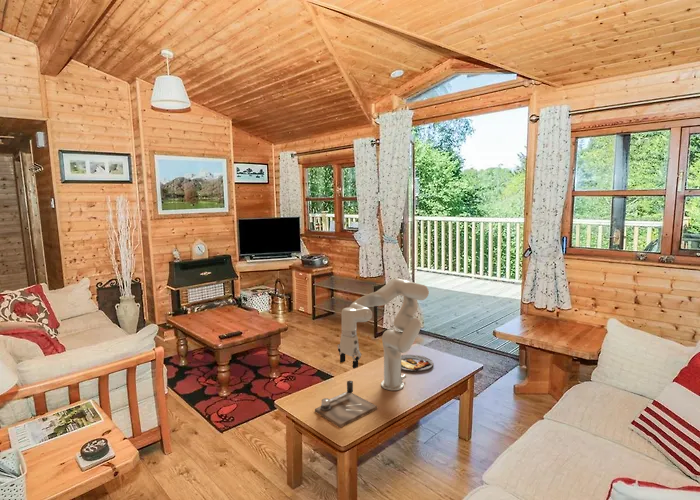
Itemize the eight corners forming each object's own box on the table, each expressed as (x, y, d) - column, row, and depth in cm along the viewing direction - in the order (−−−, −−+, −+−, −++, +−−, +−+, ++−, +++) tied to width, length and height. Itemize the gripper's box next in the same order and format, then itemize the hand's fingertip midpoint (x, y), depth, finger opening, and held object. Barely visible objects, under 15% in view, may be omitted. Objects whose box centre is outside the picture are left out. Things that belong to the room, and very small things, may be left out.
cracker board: (351, 395, 214) (351, 390, 214) (377, 408, 200) (377, 404, 200) (315, 411, 198) (314, 406, 198) (340, 427, 184) (340, 422, 184)
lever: (349, 392, 211) (349, 379, 210) (354, 395, 208) (354, 382, 207) (319, 406, 198) (319, 392, 197) (325, 409, 195) (324, 395, 194)
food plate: (441, 367, 247) (441, 362, 246) (410, 377, 235) (410, 371, 235) (415, 355, 268) (415, 350, 268) (386, 363, 257) (386, 357, 257)
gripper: (366, 335, 200) (366, 368, 202) (343, 326, 213) (343, 358, 215) (355, 338, 195) (355, 372, 197) (332, 329, 208) (332, 361, 210)
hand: (348, 364), depth 206 cm, fingers open, 9 cm apart
